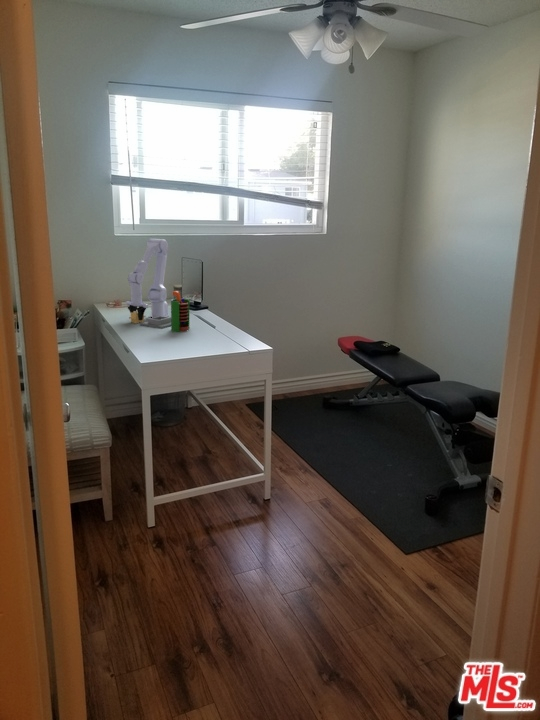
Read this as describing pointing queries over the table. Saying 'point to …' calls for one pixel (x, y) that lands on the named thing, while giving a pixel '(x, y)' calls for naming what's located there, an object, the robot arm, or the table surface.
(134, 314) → the yellow block
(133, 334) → the table surface
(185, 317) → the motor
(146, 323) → the chassis plate
